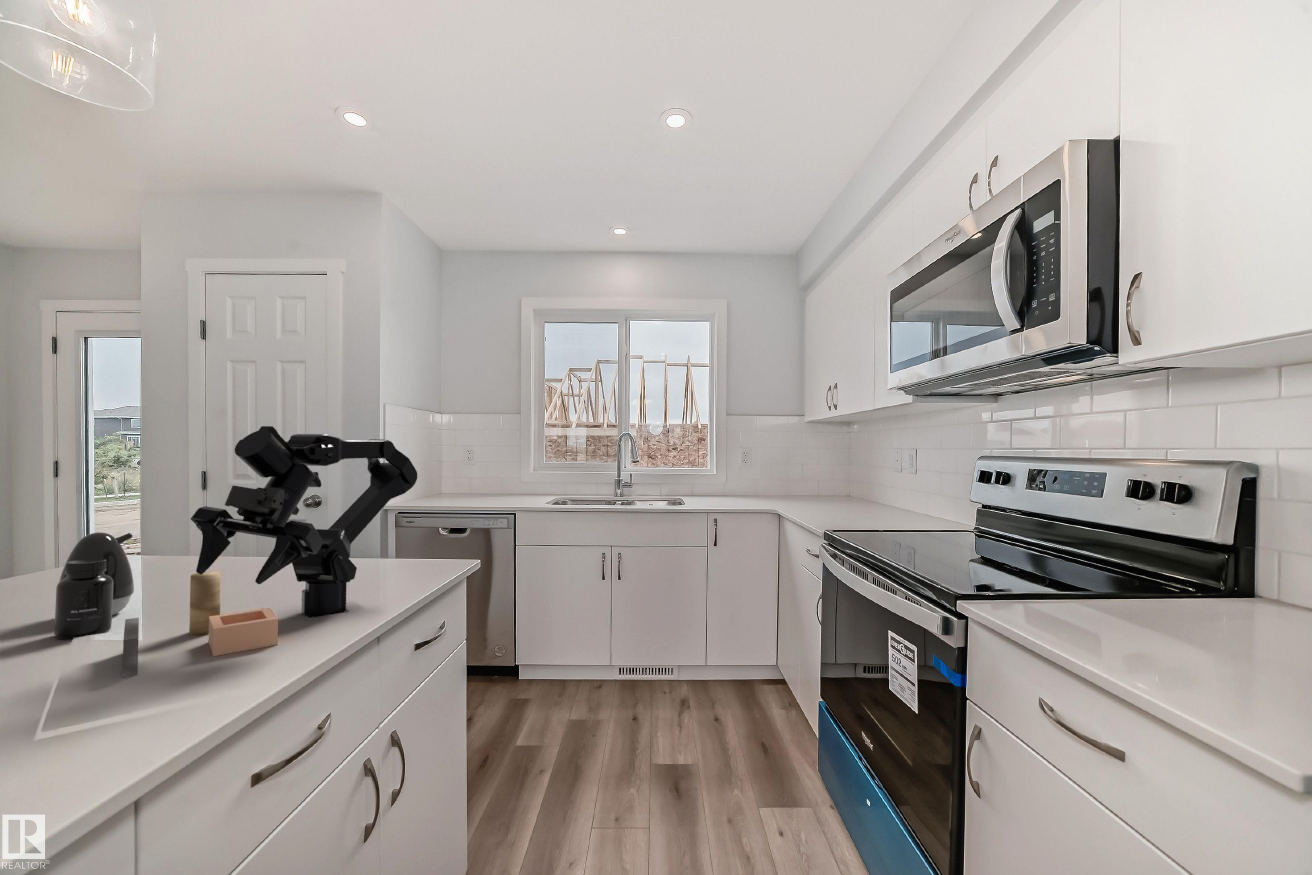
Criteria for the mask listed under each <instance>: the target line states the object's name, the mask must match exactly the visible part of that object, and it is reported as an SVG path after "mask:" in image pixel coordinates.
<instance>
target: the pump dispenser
mask: <svg viewBox="0 0 1312 875" xmlns="http://www.w3.org/2000/svg"><path fill="white" fill-rule="evenodd" d="M133 537H134V536H133V534H132V533H131V532H128V533H126V534H123V535H120V536H118V537H114V536H113V535H111V534H110V533H106V532H103V531H101V532H99V531H97V532H93V533H89V534H87V535H85V536H83V537H82V538H80V539H79V540H78V542H77V543H76V544H75V546H74V547H73V549H72V550H71V552H70V554H69V555H68V557H67V559H66V562H65V563H64V566H63V569H62V571H61V573H60V577H59V580H58V583H59V582H60V581H61V580H63V579H65V578H67V574H65V571H66V564H67V562H70V561H75V560H83V559H106V567H107V570H106V571H104V574H106V575H109V576H110V577H112V579H113V583H114V584H113V605H112V616H114V615H117V614H118V613H120V612H122V611H123V609H125V608H126V607H127V605H128V604H129V602H130V599H131V597H132V595H133V594H134V592H135V584H134V578H133V573H132V568H131V564H130V561H129V558H128V556H127V554H126V552H125V549H124V547H123V546H122V544H124V543H125V542H127V541H129V540H131V539H132V538H133Z"/></svg>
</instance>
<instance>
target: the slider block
mask: <svg viewBox="0 0 1312 875" xmlns="http://www.w3.org/2000/svg"><path fill="white" fill-rule="evenodd" d="M278 637H279V618H278V617H277V615H276V614H275V613H274V612H273V610H272V608H271V607H265V608H258V609H251V610H245V611H243V610H242V611H239V612H238V611H237V612H236V611H235V612H231V613H223V614H220V615H215V616H209V634H208V646H209V648H210V651H211V655H212V657H217V656H222V655H228V654H232V653H239V652H245V651H249V650H256V649H261V648H262V649H263V648H267V647H272V646H277V645H278V640H279V638H278Z"/></svg>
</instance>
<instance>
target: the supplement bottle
mask: <svg viewBox="0 0 1312 875" xmlns="http://www.w3.org/2000/svg"><path fill="white" fill-rule="evenodd" d="M106 570H107V567H106V559H83V560H75V561H70V562H67V564H66V571H65V574H67V578H65V579H63V580H61V581H60V582H59V581H58V583H57V585H56V590H55V608H54V611H55V612H54V624H53V625H54V626H53V627H54V628H53V629H54V632H53V636H54V637H55V638H56V639H59V640H74V638H80V637H88V636H96V635H101V634H105V633H107V632H109V631H110V630H111V629H112V622H113V615H112V605H113V584H114V583H113V579H112V577H110V576H109V575H106V574H104V571H106Z"/></svg>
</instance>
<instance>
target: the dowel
mask: <svg viewBox="0 0 1312 875" xmlns="http://www.w3.org/2000/svg"><path fill="white" fill-rule="evenodd" d="M221 582H222V572H221V571H205V572H204V573H203V574H202V575H200V574H198V573H197V572H196V573H193V574H191V575H190V584H189V588H190V589H189V593H190V594H189V635H190V636H204V635H209V616H215V615H221V592H222V590H221V589H222V585H221V584H222V583H221Z"/></svg>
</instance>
